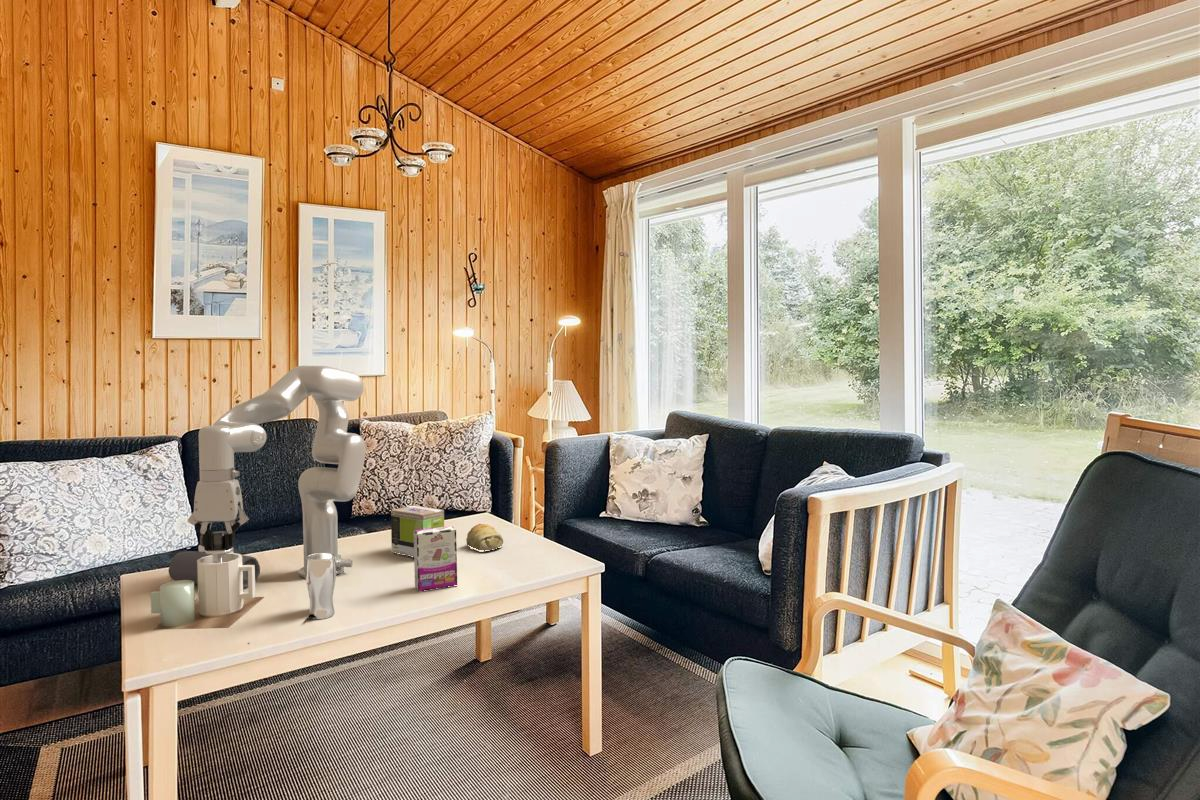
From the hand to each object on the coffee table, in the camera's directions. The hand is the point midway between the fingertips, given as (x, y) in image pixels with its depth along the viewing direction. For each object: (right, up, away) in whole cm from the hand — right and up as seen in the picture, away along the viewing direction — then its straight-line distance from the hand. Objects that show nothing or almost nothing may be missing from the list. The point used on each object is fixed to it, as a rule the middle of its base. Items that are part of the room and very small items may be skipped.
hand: (219, 547), depth 173 cm
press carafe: (+1, -16, +1) cm, 16 cm away
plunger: (0, -13, +1) cm, 13 cm away
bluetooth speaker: (-13, -16, +21) cm, 29 cm away
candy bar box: (+48, -16, +23) cm, 56 cm away
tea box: (+35, -14, +56) cm, 67 cm away
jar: (-19, -15, +33) cm, 41 cm away
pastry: (+55, -14, +64) cm, 86 cm away
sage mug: (-7, -16, -7) cm, 19 cm away
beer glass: (+25, -17, +1) cm, 30 cm away
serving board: (-1, -17, 0) cm, 17 cm away
